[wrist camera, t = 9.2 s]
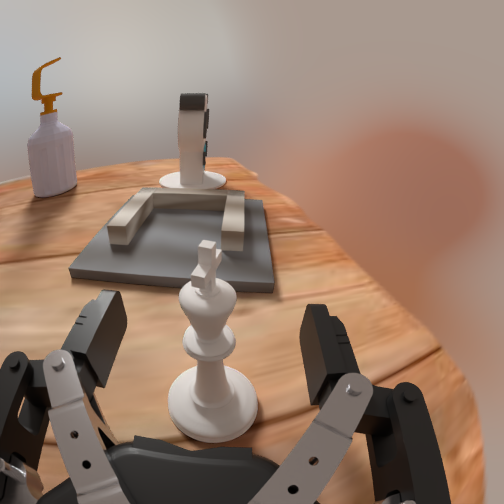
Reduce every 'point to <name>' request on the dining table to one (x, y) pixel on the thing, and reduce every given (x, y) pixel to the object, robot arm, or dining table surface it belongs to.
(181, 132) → the panda figurine
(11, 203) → the dining table surface
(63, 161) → the soap bottle
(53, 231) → the dining table surface
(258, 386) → the dining table surface
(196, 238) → the u rest
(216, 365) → the chess piece
